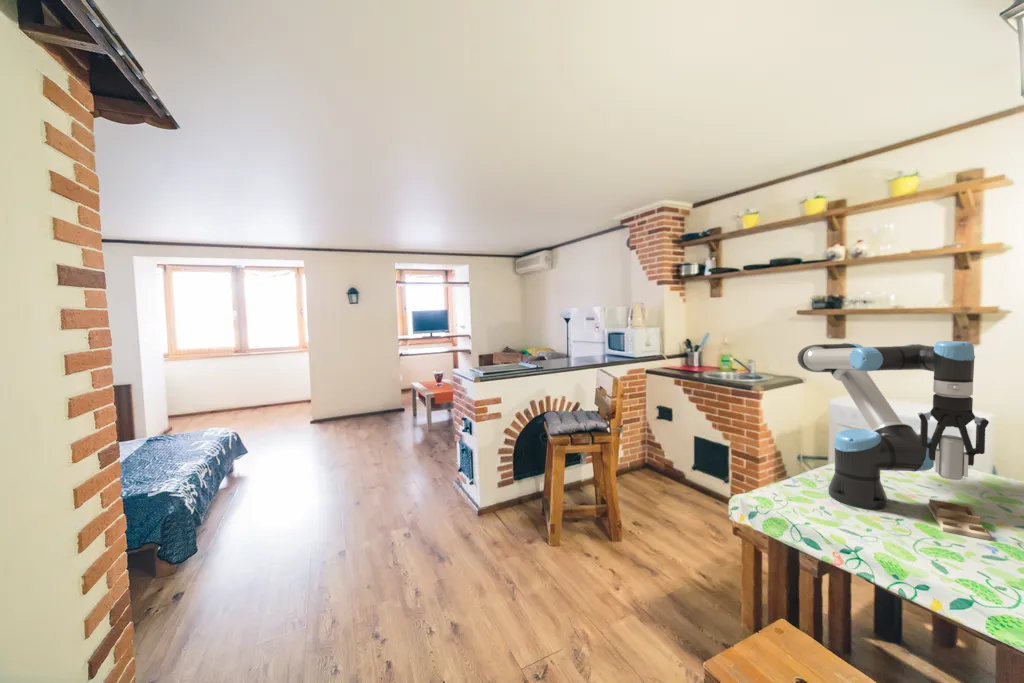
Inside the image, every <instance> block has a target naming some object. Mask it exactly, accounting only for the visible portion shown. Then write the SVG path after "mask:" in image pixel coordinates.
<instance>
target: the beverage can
mask: <svg viewBox="0 0 1024 683" xmlns="http://www.w3.org/2000/svg"><path fill="white" fill-rule="evenodd" d="M964 449H965V446H964V441H963V438H962V437H961V436H957V435H952V434H942V436H941V438H940V441H939V443H938V450H939V451H940V458H939V473H937V474H938V475H939V476H940V477H941V478H944V479H946V480H953V481H959V480H962V479H963V477H964V476H963V456H964V452H965V450H964Z"/></svg>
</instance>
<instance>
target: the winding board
mask: <svg viewBox="0 0 1024 683" xmlns="http://www.w3.org/2000/svg"><path fill="white" fill-rule="evenodd" d="M928 502H929V503H927V509H928V511H929V512H930V513H931V515H932V517H933V518H934V520H935V522H936V523H937V525H938V526H939V527H940V530H942V532H944V533H945V532H946V533H951V534H954V535H955V534H956V535H961V536H966V537H971V538H976V539H981V540H987V541H991V539H992V538H991V534H989V533H988V531H987V530H986V528H985V527H983V525H982V524H981V517H980V516H979V515H978V514H977V512H975V510H974V509H973V507H971V506H970V505H969V504H967V505H966V504H963V503H962V504H961V503H955V502H951V501H950V502H949V501H945V500H943V501H942V500H938V499H937V500H936V499H931V498H929V500H928Z"/></svg>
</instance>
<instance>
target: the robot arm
mask: <svg viewBox="0 0 1024 683" xmlns="http://www.w3.org/2000/svg"><path fill="white" fill-rule="evenodd" d="M796 358H797V362H798V364H799V366H800V367H801V368H802V369H803V370H806V371H808V372H812V373H830V375H832V377H833V378H834V379H835V380H836V381H838V382H841V383H842V384H843V386H844V388H845V389H846V391H847V392H848V394H849V396H850V398H851V399H852V401H853V403H854V404H855V405H856V407H857V409H858V410H859V412H860V414H861V415H862V417H863V419H864V420H865V422H866V423H867V425H868V427H869V428H870V429H864V428H863V429H859V428H849V429H843V430H840V431H839V432H837V433H836V434H835V437H834V444H833V447H834V474H833V476H832V479H831V481H830V483H829V485H828V495H829V496H830V497H831V498H832V499H834V500H836V501H838V502H840V503H842V504H845V505H848V506H851V507H852V506H853V507H856V508H861V509H862V508H863V509H871V510H880V509H884V508H886V507H888V497H887V494H886V492H885V489H884V486H883V484H882V483H881V482H882V481H881V471H892V472H893V471H895V472H896V471H897V472H902V471H903V472H919V471H920V472H921V471H923V472H924V471H929V470H932V469H933V471H934V473H935V474H936V473H937V474H938V473H939V458H940V451H939V448H938V447H939V441H940V438H941V436H942V435H944V431H945V429H946V428H947V427H948V428H952V427H953V428H956V429H958V432H959V434H960V437H961V438H963V441H964V449H965V451H964V456H963V477H964V478H968V477H969V466H974V465H975V456H976V455H979V454H980V455H984V454H985V450H986V428H987V427H988V425H989V423H990V422H989V420H987V419H986V418H985V417H979V416H976V415H975V414H974V412H973V403H974V402H973V401H974V398H973V397H972V396H973V395H974V372H975V359H976V356H975V347H974V344H973V343H972V342H970V341H960V340H941V341H937V342H935V343H934V346H933V345H932V346H931V345H925V344H924V345H923V344H918V343H916V344H914V343H913V344H911V343H910V344H906V345H900V346H899V345H898V346H897V345H896V346H895V345H893V346H862V345H861V344H858V343H850V342H844V343H830V344H829V343H826V344H825V343H824V344H823V343H822V344H811V345H808V346H805V347H803V348H802V349H801V350H800V351H799V352H798V353H797V357H796ZM909 370H910V371H912V370H913V371H914V370H915V371H917V370H920V371H921V370H922V371H923V370H924V371H929V372H933V387H932V388H933V393H934V394H933V395H932V408H931V410H930V411H929V412H928V411H927V412H918V413H917V416H918V417H919V420H920V429H919V430H920V431H919V432H920V433H919V434H917V433H916V431H915V430H914V429H913V427H912V425H910V424H907V423H903V422H902V421H901V419H900V418H899V417H898V415H897V414H896V412H895V411H894V409H893V408H892V406H891V405H890V403H889V402H888V400H887V398H885V396H884V395H883V393H882V392H881V390H880V389H879V387H878V386H877V385H876V383H875V381H874V380H873V378H872V377H871V376H870V375H869V373H868V372H874V371H875V372H876V371H909ZM932 417H933V418H934V419H935V421H936V422H937V423H936V427H935V430H934V432H933V434H932V436H931V438H930V437H929V436H928V435H929V434H928V432H929V431H928V430H929V427H928V426H929V422H928V421H930V419H931V418H932ZM972 421H974V424H975V425H976V426H975V428H976V429H975V447H973V445H972V442H971V438H970V435H969V433H968V428H967V425H968V424H969V423H971V422H972Z"/></svg>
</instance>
